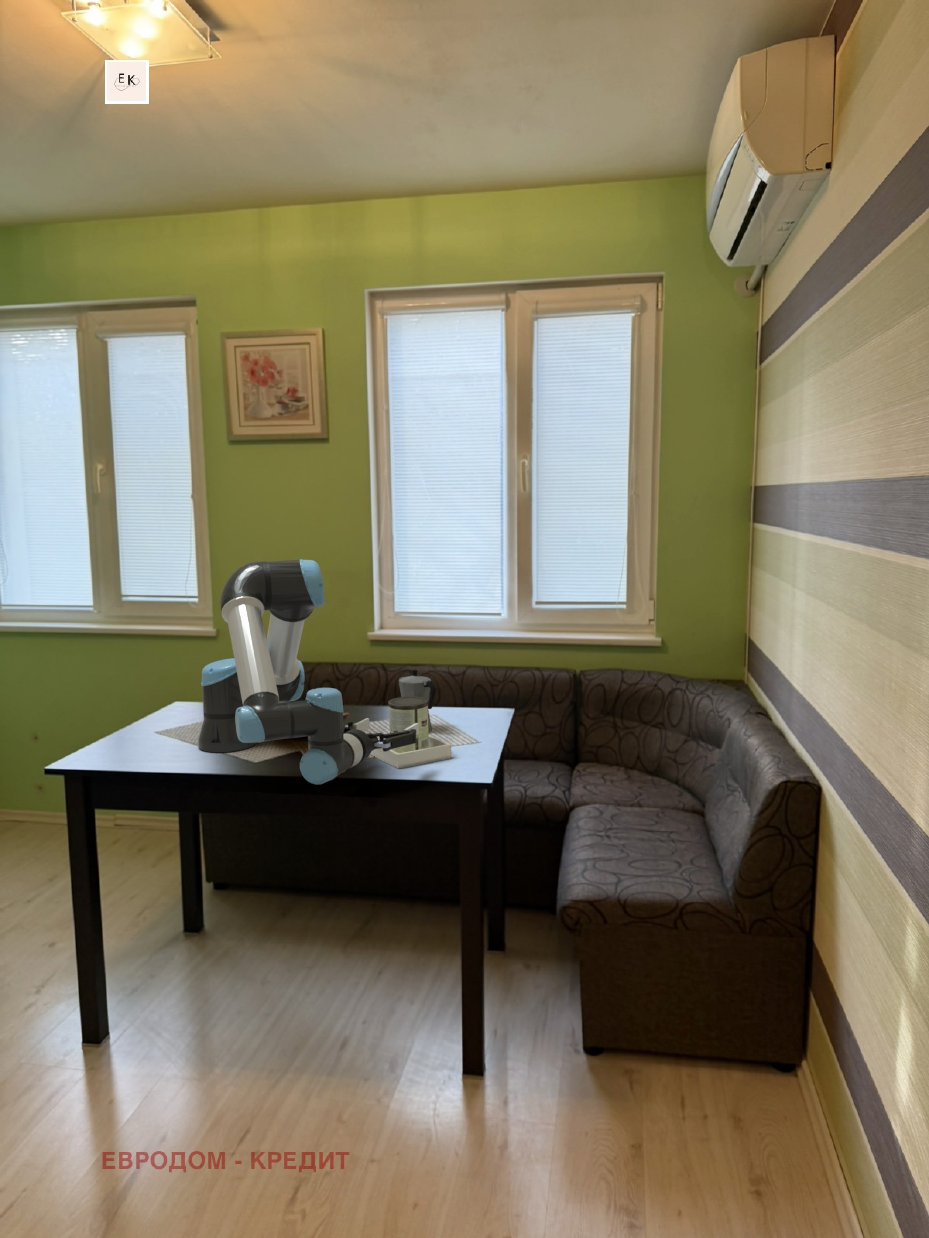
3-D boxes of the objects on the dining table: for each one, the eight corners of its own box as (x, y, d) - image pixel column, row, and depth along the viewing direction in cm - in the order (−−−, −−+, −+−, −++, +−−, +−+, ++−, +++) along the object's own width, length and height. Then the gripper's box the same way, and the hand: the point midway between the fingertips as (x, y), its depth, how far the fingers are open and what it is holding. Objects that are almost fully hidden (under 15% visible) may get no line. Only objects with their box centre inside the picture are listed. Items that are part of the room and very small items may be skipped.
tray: (369, 753, 223) (369, 740, 222) (420, 744, 231) (420, 731, 231) (397, 768, 210) (397, 754, 209) (451, 758, 218) (451, 744, 218)
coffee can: (393, 747, 226) (392, 696, 224) (431, 748, 225) (430, 696, 223) (386, 759, 216) (384, 705, 214) (426, 760, 215) (425, 705, 213)
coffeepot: (388, 729, 247) (387, 668, 245) (413, 723, 253) (412, 664, 251) (423, 739, 236) (422, 676, 234) (448, 733, 242) (447, 671, 240)
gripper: (302, 759, 196) (348, 735, 215) (399, 771, 187) (438, 745, 206) (301, 727, 195) (347, 706, 214) (399, 738, 185) (438, 715, 205)
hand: (392, 725), depth 210 cm, fingers open, 13 cm apart
